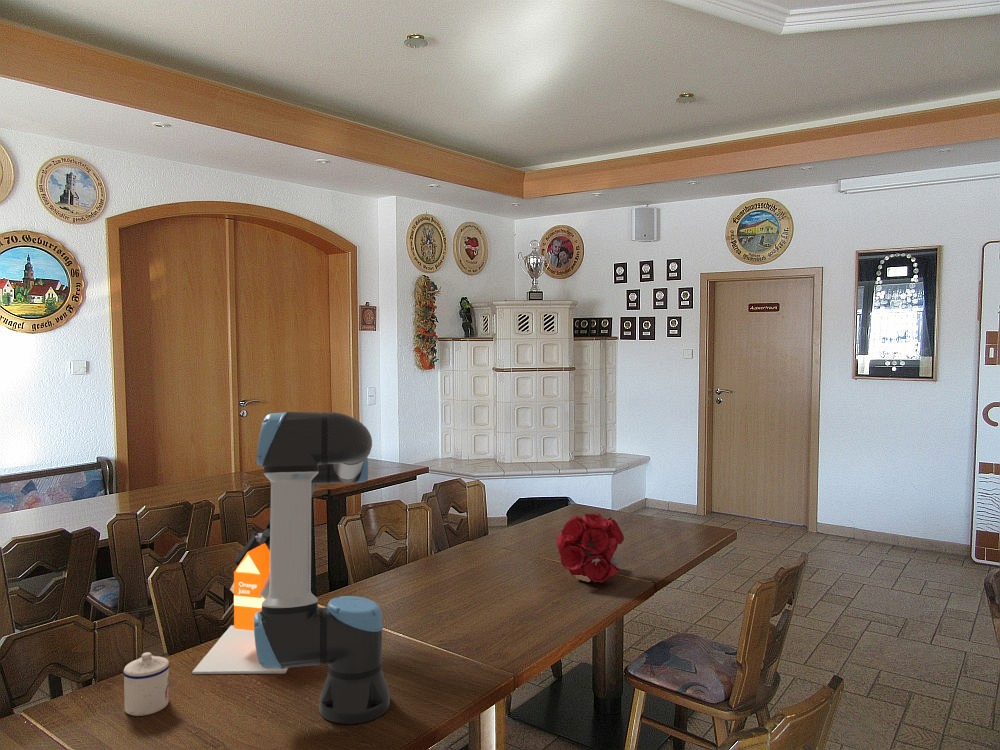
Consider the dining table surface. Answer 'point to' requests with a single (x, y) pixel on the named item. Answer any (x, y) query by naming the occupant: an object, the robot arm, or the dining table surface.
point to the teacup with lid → (146, 685)
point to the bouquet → (590, 546)
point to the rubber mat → (234, 656)
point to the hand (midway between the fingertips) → (248, 594)
